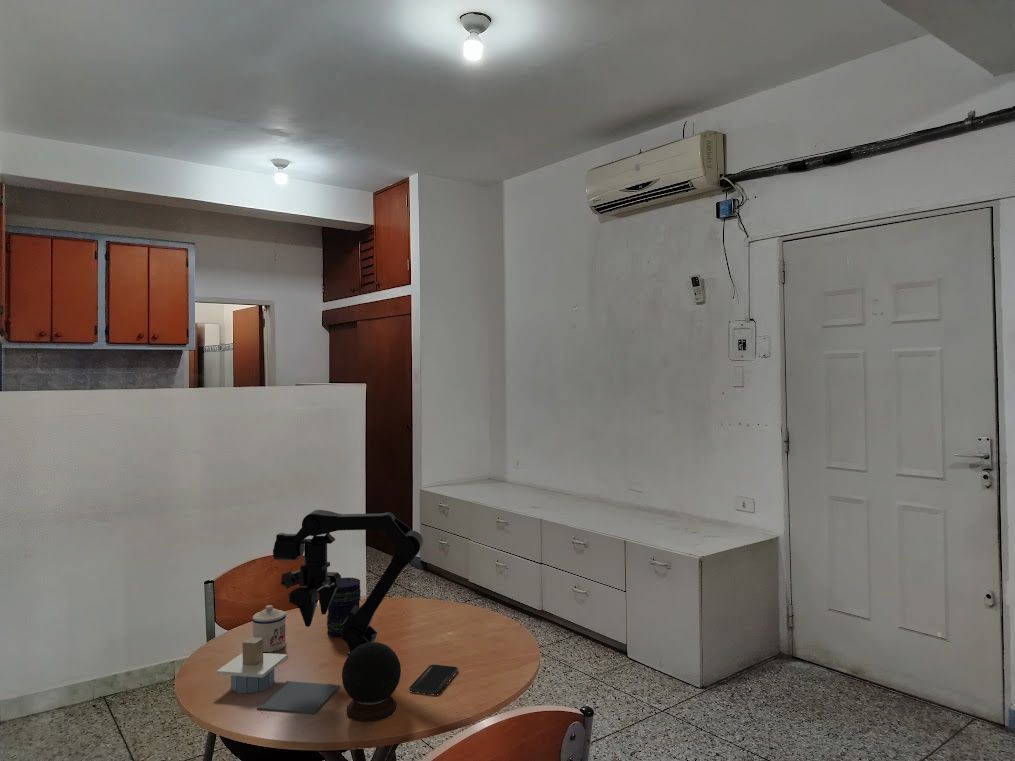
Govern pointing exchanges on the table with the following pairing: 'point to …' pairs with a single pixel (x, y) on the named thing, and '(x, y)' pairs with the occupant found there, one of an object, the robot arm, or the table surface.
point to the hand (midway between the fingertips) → (316, 620)
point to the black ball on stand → (371, 681)
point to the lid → (252, 661)
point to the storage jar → (342, 605)
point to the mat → (299, 697)
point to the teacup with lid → (270, 628)
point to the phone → (433, 679)
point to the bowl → (251, 683)
